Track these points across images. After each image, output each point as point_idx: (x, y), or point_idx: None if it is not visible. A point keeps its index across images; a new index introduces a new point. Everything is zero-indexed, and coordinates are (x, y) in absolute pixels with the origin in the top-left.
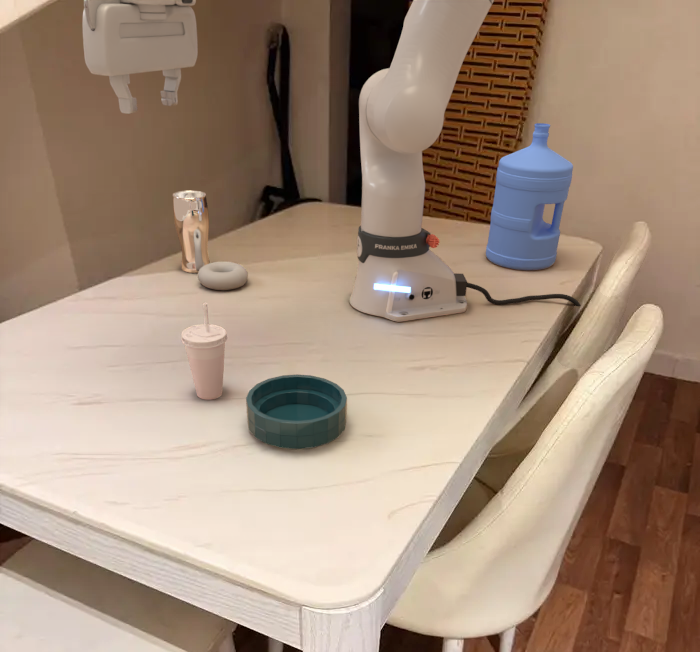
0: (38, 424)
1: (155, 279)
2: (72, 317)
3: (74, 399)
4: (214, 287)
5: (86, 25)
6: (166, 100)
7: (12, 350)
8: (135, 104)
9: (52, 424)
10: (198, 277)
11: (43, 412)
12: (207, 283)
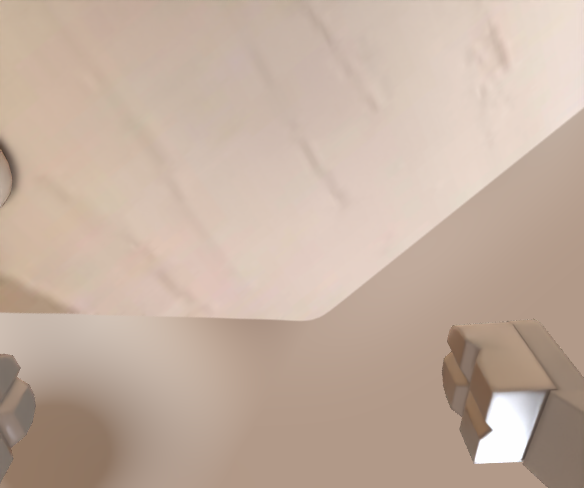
0: (573, 71)
1: (52, 274)
2: (255, 273)
3: (492, 79)
4: (4, 156)
5: None
6: (4, 407)
7: (383, 260)
8: (493, 355)
9: (570, 52)
10: (4, 202)
11: (539, 91)
12: (8, 172)
